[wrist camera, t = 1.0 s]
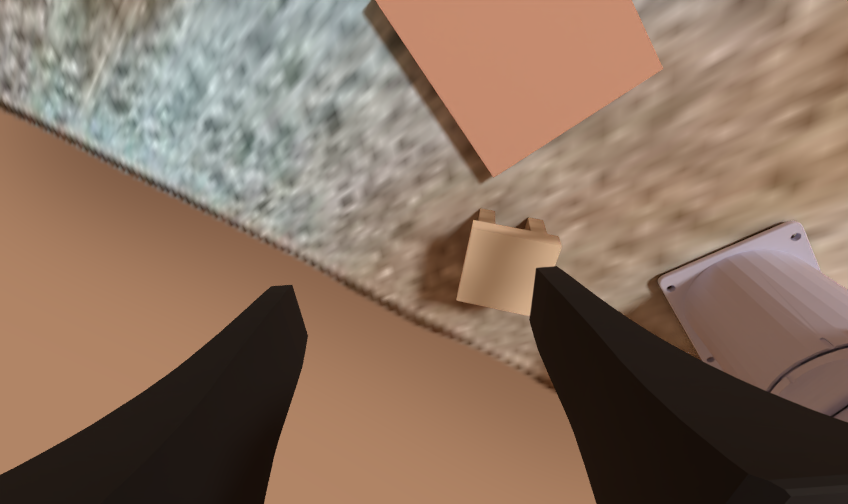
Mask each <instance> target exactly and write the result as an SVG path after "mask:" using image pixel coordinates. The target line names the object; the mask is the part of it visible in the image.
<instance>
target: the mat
mask: <svg viewBox="0 0 848 504" xmlns="http://www.w3.org/2000/svg"><path fill="white" fill-rule="evenodd" d="M375 1H376V2H377V4H378V5H379V7H380V8H381V10H382V11H383V13H384V14H385V16H386V17H387V19H388V20H389V22H390V23H391V25H392V26H393V28H394V29H395V31H396V32H397V34H398V35H399V37H400V38H401V40H402V41H403V43H404V44H405V46H406V47H407V49H408V50H409V52H410V53H411V55H412V56H413V58H414V59H415V61H416V62H417V64H418V65H419V67H420V68H421V70H422V71H423V73H424V74H425V76H426V77H427V79H428V80H429V82H430V83H431V85H432V86H433V88H434V89H435V91H436V92H437V94H438V95H439V97H440V98H441V100H442V101H443V103H444V104H445V106H446V107H447V109H448V110H449V112H450V113H451V115H452V116H453V118H454V119H455V120H456V122H457V123H458V125H459V126H460V128H461V129H462V131H463V132H464V134H465V135H466V137H467V138H468V140H469V141H470V143H471V144H472V146H473V147H474V149H475V150H476V152H477V153H478V155H479V156H480V158H481V159H482V161H483V162H484V164H485V165H486V167H487V168H488V170H489V171H490V173H491V174H492V176H493V177H495V176H497V175H498V174H500V173H501V172H503V171H505V170H506V169H508V168H509V167H511V166H512V165H514V164H516V163H517V162H519V161H520V160H522V159H523V158H525V157H526V156H528V155H530V154H531V153H533V152H534V151H536V150H537V149H539V148H540V147H542V146H544V145H545V144H547V143H548V142H550V141H551V140H553V139H554V138H556V137H558V136H559V135H561V134H562V133H564V132H565V131H567V130H568V129H570V128H572V127H573V126H575V125H576V124H578V123H579V122H581V121H582V120H584V119H586V118H587V117H589V116H590V115H592V114H593V113H595V112H596V111H598V110H600V109H601V108H603V107H604V106H606V105H607V104H609V103H611V102H612V101H614V100H615V99H617V98H618V97H620V96H621V95H623V94H625V93H626V92H628V91H629V90H631V89H632V88H634V87H635V86H637V85H639V84H640V83H642V82H643V81H645V80H646V79H648V78H649V77H651V76H653V75H654V74H656V73H657V72H659V71H660V70H662V69H663V67H662V65H661V63H660V61H659V58H658V56H657V54H656V52H655V50H654V48H653V45H652V43H651V41H650V39H649V37H648V35H647V32H646V30H645V28H644V26H643V24H642V22H641V19H640V17H639V15H638V13H637V11H636V9H635V7H634V4H633V2H632V0H375Z"/></svg>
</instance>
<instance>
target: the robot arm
mask: <svg viewBox="0 0 848 504" xmlns="http://www.w3.org/2000/svg"><path fill="white" fill-rule="evenodd" d="M795 233H797V234H796V236H795V237H793V238H791V236H792V235H793V234H795ZM657 282H658V285H659V286H660V288H661V290H662V292H663V293H664V295H665V297H666V299H667V300H668V302H669V304H670V306H671V307H672V309H673V311H674V313H675V314H676V316H677V318H678V320H679V321H680V323H681V325H682V327H683V328H684V330H685V332H686V334H687V335H688V337H689V339H690V341H691V342H692V344H693V346H694V348H695V349H696V351H697V353H698V355H699V356H700V358H701V360H702V361H701V360H699V359H697V358H695V357H693V356H691V355H689V354H687V353H686V352H684V351H682V350H680V349H678V348H677V347H675V346H673V345H671V344H669V343H668V342H666V341H664V340H662V339H661V338H659V337H657V336H656V335H654V334H652V333H651V332H649V331H647V330H646V329H644V328H643V327H641V326H640V325H638V324H637V323H635V322H633V321H632V320H630V319H629V318H627V317H626V316H624V315H623V314H621V313H620V312H618V311H617V310H616V309H614V308H613V307H611V306H610V305H608V304H607V303H606V302H604V301H603V300H602V299H600V298H599V297H597V296H596V295H595V294H593V293H592V292H591V291H589V290H588V289H587V288H585V287H584V286H583V285H581V284H580V283H579V282H577V281H576V280H575V279H573V278H572V277H571V276H569V275H568V274H567V273H565V272H564V271H563V270H561V269H560V268H558V267H557V266H554V267H540V268H536V272H535V280H534V288H533V296H532V304H531V312H530V319H529V320H530V324H531V327H532V331H533V335H534V338H535V341H536V345H537V348H538V351H539V353H540V356H541V358H542V360H543V362H544V365H545V367H546V369H547V372H548V374H549V376H550V379H551V381H552V383H553V385H554V388H555V390H556V392H557V394H558V397H559V399H560V401H561V403H562V406H563V408H564V410H565V412H566V415H567V417H568V419H569V422H570V424H571V427H572V429H573V432H574V434H575V438H576V441H577V443H578V447H579V450H580V452H581V456H582V459H583V462H584V465H585V468H586V471H587V474H588V477H589V481H590V484H591V487H592V490H593V494H594V497H595V500H596V503H597V504H848V289H846V288H845V287H843V286H842V285H840V284H838V283H837V282H835V281H834V280H832V279H831V278H829V277H828V276H826V275H825V274H823V273H822V272H821V270H820V268H819V265H818V263H817V260H816V258H815V255H814V253H813V250H812V248H811V245H810V243H809V240H808V238H807V235H806V233H805V230H804V228H803V226H802V224H801V223H799V222H797V221H787V222H785V223H782V224H780V225H778V226H775V227H773V228H771V229H768V230H766V231H764V232H761V233H759V234H757V235H754V236H752V237H750V238H747V239H745V240H743V241H740V242H738V243H736V244H733V245H731V246H729V247H727V248H724V249H722V250H720V251H717V252H715V253H713V254H710V255H708V256H706V257H703V258H701V259H699V260H696V261H694V262H692V263H689V264H687V265H685V266H682V267H680V268H678V269H675V270H673V271H671V272H668V273H666V274H664V275H662V276H660V277H659V278H658V281H657ZM671 285H673V286H672V288H670V289H667V287H668V286H671ZM307 337H308V335H307V331H306V328H305V325H304V322H303V318H302V315H301V312H300V309H299V305H298V302H297V299H296V296H295V293H294V289H293V286H292V285H284V286H272V287H270V288H269V289H268V290H266V291H265V292H264V293H263V294H262V295H261V296H260V297H259V298H257V299H256V300H255V301H254V302H253V303H252V304H251V305H250V306H249V307H248V308H247V309H245V310H244V311H243V312H242V313H241V314H240V315H239V316H238V317H237V318H235V319H234V320H233V321H232V322H231V323H230V324H229V325H228V326H226V327H225V328H224V329H223V330H222V331H221V332H220V333H219V334H218V335H216V336H215V337H214V338H213V339H212V340H210V341H209V342H208V343H207V344H205V345H204V346H203V347H202V348H201V349H199V350H198V351H197V352H196V353H195V354H193V355H192V356H191V357H190V358H189V359H187V360H186V361H185V362H183V363H182V364H181V365H180V366H179V367H177V368H176V369H174V370H173V371H172V372H170V373H169V374H168V375H166V376H165V377H164V378H162V379H161V380H159V381H158V382H156V383H155V384H154V385H152V386H151V387H149V388H148V389H147V390H145V391H144V392H142V393H141V394H139V395H138V396H136V397H135V398H133V399H132V400H130V401H128V402H127V403H126V404H124V405H122V406H120V407H119V408H117V409H116V410H114V411H113V412H111V413H110V414H108V415H106V416H105V417H103V418H102V419H100V420H99V421H97V422H95V423H94V424H92V425H91V426H89V427H87V428H85V429H84V430H82V431H80V432H78V433H77V434H75V435H73V436H72V437H70V438H68V439H66V440H65V441H63V442H61V443H59V444H57V445H56V446H54V447H52V448H50V449H48V450H47V451H45V452H43V453H41V454H39V455H38V456H36V457H34V458H32V459H30V460H28V461H26V462H24V463H23V464H21V465H19V466H17V467H15V468H14V469H11V470H9V471H7V472H5V473H3V474H1V475H0V504H264V500H265V495H266V491H267V486H268V481H269V477H270V472H271V468H272V463H273V459H274V455H275V451H276V448H277V444H278V440H279V437H280V434H281V431H282V428H283V425H284V422H285V419H286V416H287V413H288V410H289V407H290V404H291V400H292V397H293V394H294V391H295V388H296V385H297V382H298V379H299V375H300V372H301V369H302V365H303V360H304V355H305V349H306V344H307ZM709 357H711V358H709ZM707 358H708V359H707Z"/></svg>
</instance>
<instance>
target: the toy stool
mask: <svg viewBox="0 0 848 504" xmlns="http://www.w3.org/2000/svg"><path fill="white" fill-rule="evenodd" d="M561 248H562V245H561V242H560V239H559V237H558V236H554V235H549V234H547V232H546V228H545V225H544V222H543V220H539V219H534V218H528V219H527V222H526V226H525V229H524V230H523V229H518V228H513V227H508V226H503V225H497V224H495V211H492V210H486V209H481V208H480V212H479V216H478V221H477V220H473V223H472V228H471V232H470V237H469V242H468V246H467V251H466V255H465V260H464V264H463V269H462V273H461V278H460V282H459V287H458V293H457V299H456V301H461V302H466V303H471V304H475V305H480V306H485V307H489V308H494V309H499V310H503V311H508V312H513V313H518V314H522V315H527V316H530V312H531V304H532V296H533V288H534V280H535V272H536V268H540V267H554V266H555V264H556V261H557V259H558V256H559V253H560V250H561Z"/></svg>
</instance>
